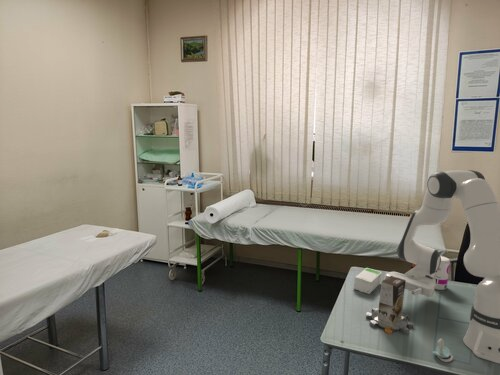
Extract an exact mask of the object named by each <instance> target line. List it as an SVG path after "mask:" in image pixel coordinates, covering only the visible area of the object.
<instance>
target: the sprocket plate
mask: <svg viewBox="0 0 500 375" xmlns="http://www.w3.org/2000/svg"><path fill="white" fill-rule="evenodd" d="M378 310H379V307H372V308H371V312H369V311H368V312H366V315H365V316H366V317H365V319H368V320H369V326H371V327H372V328H380V329H382V330H384V333H385V334H390V335H391V334H393V332H399V333H401V334H402V335H406V334H409V333H410V329H414V324H415V323H414V321H411V320H409V318H410V317H409V315H408V314H406V313H405V312H402V317H400V318H399V319H398V320H397V321H395V322H394V323H393V324H390V323H387V322H385V321H383V320H380V319H378ZM409 328H410V329H409Z"/></svg>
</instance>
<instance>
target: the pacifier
mask: <svg viewBox="0 0 500 375" xmlns="http://www.w3.org/2000/svg"><path fill="white" fill-rule="evenodd" d="M432 354H434V355H436V356H437V358H438V359H439V360H440V361H442V362H444V363H445V362H446V363H448V362H449V363H450V362H452V361H453V360H454V356H453V354H452V353H451V351H450V348H448V346H447V345H445V342H444V339H443V338H439V339H438V340H437V346H436V347H435V351H434V350H433V351H432Z"/></svg>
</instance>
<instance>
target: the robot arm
mask: <svg viewBox="0 0 500 375" xmlns="http://www.w3.org/2000/svg"><path fill="white" fill-rule="evenodd" d="M426 185H427V186H426V191H425V192H424V197H423V200H422V205H421V207H420V208H419V209H415V211H414V212H413V213H412V214H411V216H410V218H409V220H408V223H407V225H406V227H405V230H404V233H403V235H402V237H401V239H400V242H399V244H398V246H397V248H396V254H397V256H398V257H399V259H400V260H402V261H405V262H408V263H411V264H413V265H415V266H414V267H413V268H411V269H409V270H408V271H407V272H405V273H402V272H401V273H400V272H399V271H398V272H397V271H390V272H387V273H386V274H385V276H384V280H385V279H387V278H388V277H390V276H393V277H397V278H400V279H403V280H406V282H405V290H408V291H411V295H413V296H416V295H422V296H424V297H427V298H430V297H433V296H434V294H435V290H436V289H435V285H436V279H434V278H433V277H434V276H435V273H436V271H437V270H438V268H439V266H440V262H441V257H440V256H441V254H440V253H439V251H438V249H436V248H433V247H429V246H427V245H424V244H421V243H418V242H416V241H415V240H414V238H415V236H416V233H417V231H418V228H419V227H420V226H421V227H422V226H435V225H439V224H442V223H444V222H446V221H447V220H448V218H449V216H450V213H451V209H452V204H453V200H454V199H459V200H460V201H461V203H462V207H463V211H464V214H465V216H466V220H467V223H468V227H469V232H470V242H469V247H468V249H466V252H465V253H464V256H463V265H464V267H465V269H466V271H467V272H468V273H469V274H471V275H473V276H475V277H479V278H483V279H482V281H480V282H479V283H478V284H477V286H476V288H475V294H474V298H473V300H474V301H473V304H472V306H471V308H470V312H469V318H470V319H469V321H470V322H469V325H468V329H467V330H466V333H465V334H464V337H463V339H462V341H463V344H465V346H466V347H467V348H469V349H470V350H471V351H472V353H473V354H474V355H475V356H476V357H478V358H480V359H483V360H486V361H489V362H493V363H495V364H498V365H500V204H499V201H498V199H497V197H496V195H495V193H494V191H493V189H492V187H491V185H490V184H489V182H488V181H487V180H486V178H485V176H484V175H483V174H482V173H481V172H479V171H477V170H470V169H469V170H456V169H454V170H453V169H452V170H446V171H438V172H434V173H432V174H431V175H430V176H429V177H428V179H427V182H426Z"/></svg>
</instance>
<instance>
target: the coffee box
mask: <svg viewBox="0 0 500 375" xmlns="http://www.w3.org/2000/svg"><path fill="white" fill-rule="evenodd" d="M405 282H406V280H403V279H400V278H397V277H393V276H390V277H388V278H387V279H385V278H384V280H383V279H382V280H381V282H380V293H379V303H378V309H379V310H378V319H380V320H383V321H385V322H387V323H390V324H393V323H394V322H395V321H397V320H398V319H399V318H400V317H402V313H403V306H404V298H405V297H404V296H405V291H406V289H405Z"/></svg>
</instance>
